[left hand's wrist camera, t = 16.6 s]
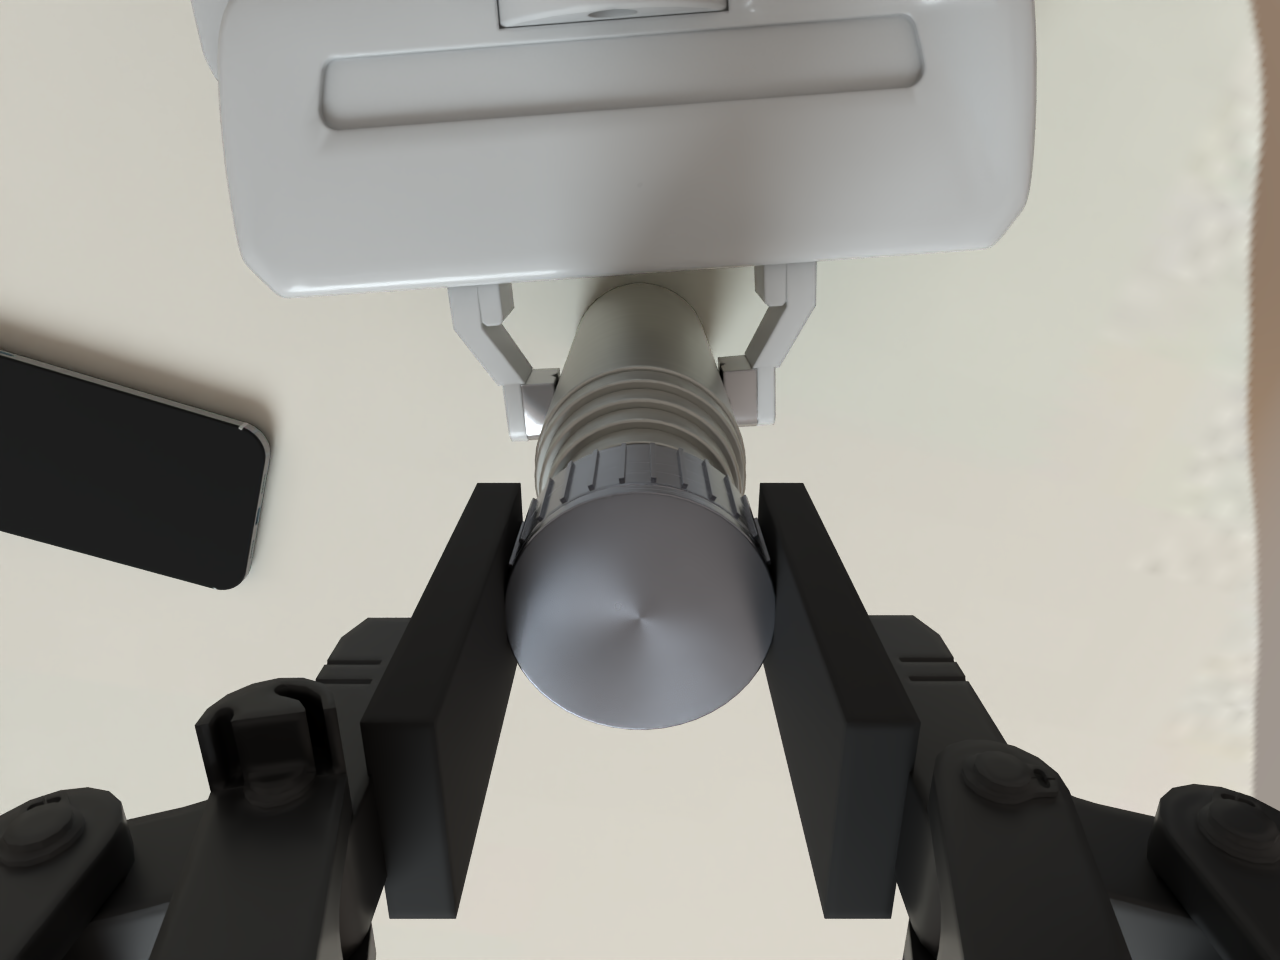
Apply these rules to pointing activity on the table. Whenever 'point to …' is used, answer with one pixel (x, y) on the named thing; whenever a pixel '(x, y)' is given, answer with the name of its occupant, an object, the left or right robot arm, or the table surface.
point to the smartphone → (128, 474)
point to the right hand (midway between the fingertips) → (643, 428)
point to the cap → (640, 589)
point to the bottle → (640, 386)
